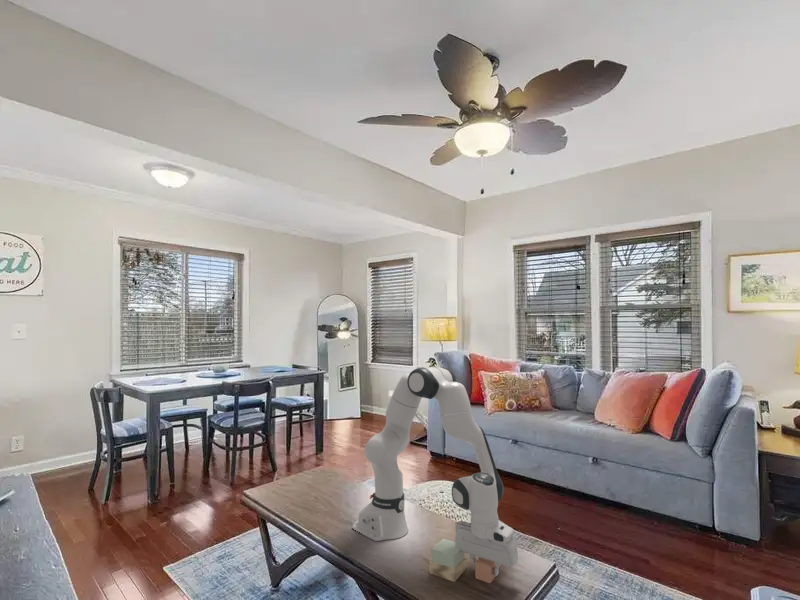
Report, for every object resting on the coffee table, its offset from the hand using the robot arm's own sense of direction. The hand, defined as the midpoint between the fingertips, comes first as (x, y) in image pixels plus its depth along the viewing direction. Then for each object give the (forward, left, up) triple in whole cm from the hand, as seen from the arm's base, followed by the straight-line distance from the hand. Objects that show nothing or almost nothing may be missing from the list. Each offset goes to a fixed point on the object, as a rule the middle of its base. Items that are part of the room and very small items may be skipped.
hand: (485, 571), depth 139 cm
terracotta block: (0, 0, -2) cm, 2 cm away
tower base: (-12, -3, -2) cm, 12 cm away
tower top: (-12, -3, +2) cm, 12 cm away
